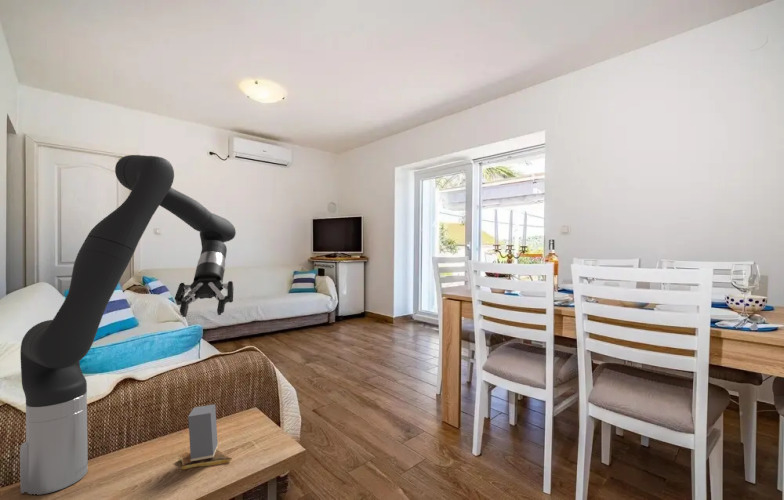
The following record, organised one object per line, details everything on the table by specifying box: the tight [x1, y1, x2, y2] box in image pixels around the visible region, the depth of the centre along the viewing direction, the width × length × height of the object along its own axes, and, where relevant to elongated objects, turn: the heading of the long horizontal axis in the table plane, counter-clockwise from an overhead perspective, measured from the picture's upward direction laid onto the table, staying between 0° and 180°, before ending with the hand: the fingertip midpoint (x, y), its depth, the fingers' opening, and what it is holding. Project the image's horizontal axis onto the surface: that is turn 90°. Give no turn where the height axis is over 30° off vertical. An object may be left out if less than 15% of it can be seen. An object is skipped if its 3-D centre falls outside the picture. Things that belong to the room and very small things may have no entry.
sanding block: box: [187, 404, 219, 461], centre depth 80 cm, size 5×5×10 cm
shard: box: [177, 449, 233, 470], centre depth 79 cm, size 11×8×2 cm
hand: (201, 314), depth 94 cm, fingers open, 8 cm apart
